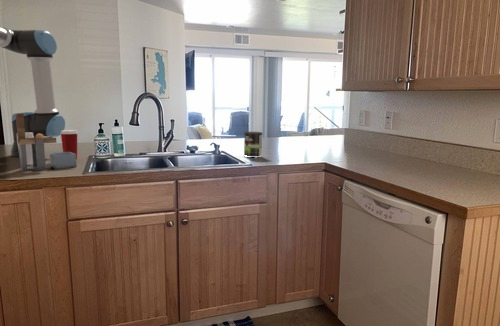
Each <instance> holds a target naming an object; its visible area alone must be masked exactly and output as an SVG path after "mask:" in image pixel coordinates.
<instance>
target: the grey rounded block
mask: <svg viewBox="0 0 500 326" xmlns="http://www.w3.org/2000/svg"><path fill="white" fill-rule="evenodd" d="M49 161H50V167H51V168H54V169H59V170H60V169H67V168H68V169H69V168H76V167H77V166H78V165H77V160H76V154H75V153H72V152H63V151H62V152H61V151H60V152H49Z"/></svg>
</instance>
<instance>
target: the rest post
mask: <svg viewBox="0 0 500 326" xmlns="http://www.w3.org/2000/svg"><path fill="white" fill-rule="evenodd" d="M19 156H20V157H19V165H20V171H22V172H28V168H29V167H28V165H27V156H26V145H20V144H19Z"/></svg>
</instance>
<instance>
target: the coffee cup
mask: <svg viewBox="0 0 500 326" xmlns="http://www.w3.org/2000/svg"><path fill="white" fill-rule="evenodd" d="M60 134H61V135H60V138H61V144H62V145H61V146H62V152H72V153H75V154H76V161H77V160H78V134H79V132H78V130H76V129H64V130H62V131H61V133H60Z"/></svg>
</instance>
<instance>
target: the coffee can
mask: <svg viewBox="0 0 500 326" xmlns="http://www.w3.org/2000/svg"><path fill="white" fill-rule="evenodd" d="M243 145H244V147H243V149H244V150H243V153H244V154H243V156H244V155H247V156H260V155H262V152H263V150H262V148H263V132H261V131H245V132H244V144H243Z"/></svg>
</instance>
